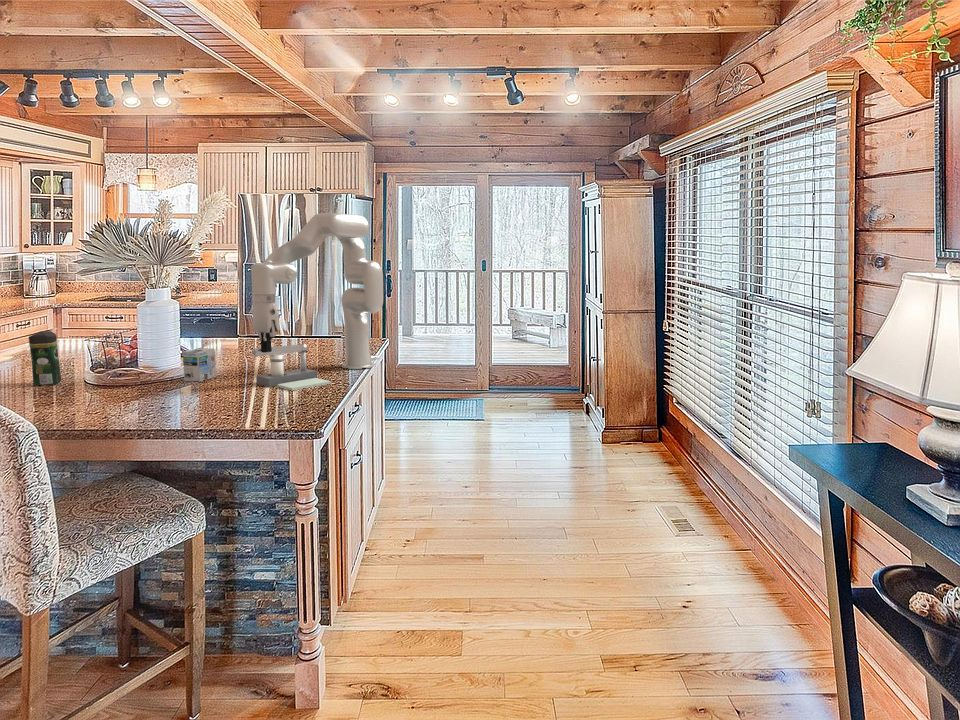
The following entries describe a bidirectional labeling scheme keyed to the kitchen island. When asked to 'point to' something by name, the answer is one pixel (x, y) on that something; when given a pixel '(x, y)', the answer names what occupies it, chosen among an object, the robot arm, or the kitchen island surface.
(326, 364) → the kitchen island surface
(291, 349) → the silver metal bar
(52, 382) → the coffee jar
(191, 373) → the light bulb box
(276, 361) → the plug
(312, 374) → the gray base with post
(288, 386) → the mat
